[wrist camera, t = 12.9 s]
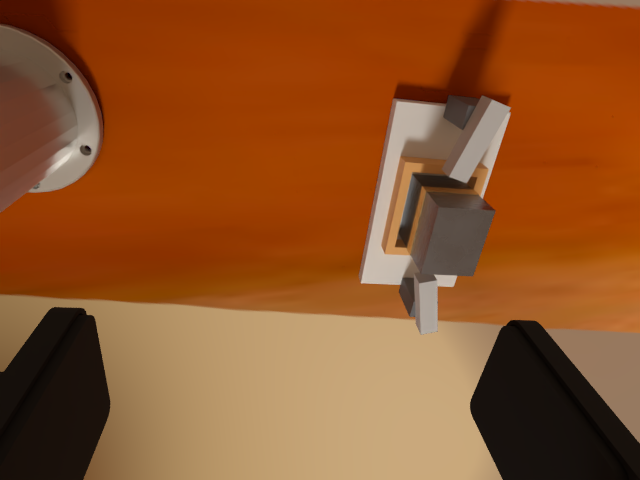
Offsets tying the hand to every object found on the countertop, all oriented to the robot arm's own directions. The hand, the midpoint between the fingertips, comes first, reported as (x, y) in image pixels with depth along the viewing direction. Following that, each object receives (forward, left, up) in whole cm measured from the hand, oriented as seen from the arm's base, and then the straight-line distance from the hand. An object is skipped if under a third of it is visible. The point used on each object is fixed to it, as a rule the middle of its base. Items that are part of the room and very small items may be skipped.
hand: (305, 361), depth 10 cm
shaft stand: (+7, -14, -28) cm, 32 cm away
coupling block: (+7, -14, -27) cm, 31 cm away
